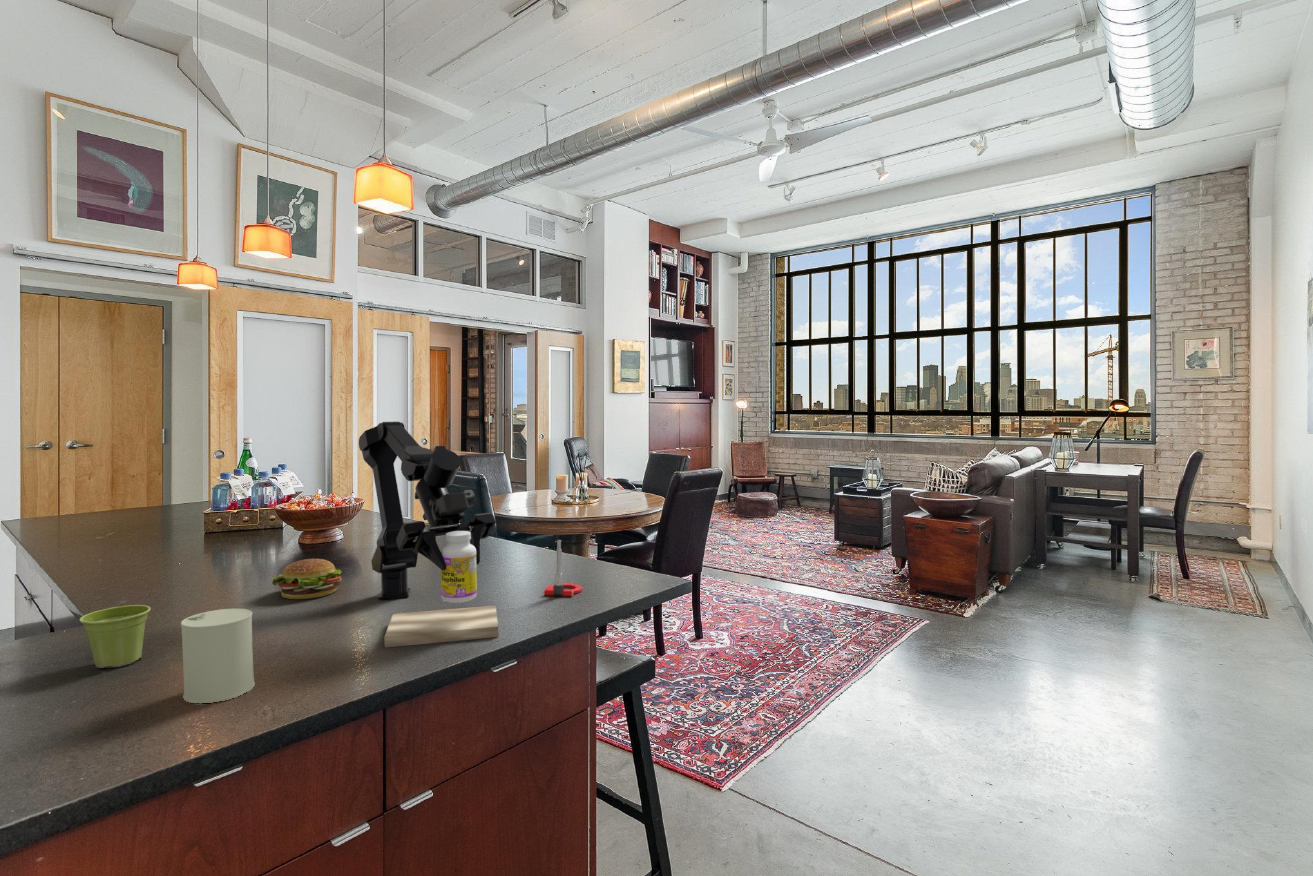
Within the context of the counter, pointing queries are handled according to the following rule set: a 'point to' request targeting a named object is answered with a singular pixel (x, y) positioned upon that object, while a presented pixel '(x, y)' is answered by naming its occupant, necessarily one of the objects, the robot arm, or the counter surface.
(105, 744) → the counter surface
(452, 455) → the robot arm
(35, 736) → the counter surface
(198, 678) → the can
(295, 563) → the food
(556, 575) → the tow hook
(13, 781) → the counter surface
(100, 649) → the plant pot
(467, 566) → the supplement bottle
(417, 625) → the birch board
